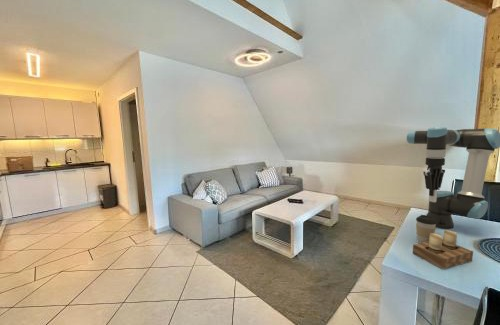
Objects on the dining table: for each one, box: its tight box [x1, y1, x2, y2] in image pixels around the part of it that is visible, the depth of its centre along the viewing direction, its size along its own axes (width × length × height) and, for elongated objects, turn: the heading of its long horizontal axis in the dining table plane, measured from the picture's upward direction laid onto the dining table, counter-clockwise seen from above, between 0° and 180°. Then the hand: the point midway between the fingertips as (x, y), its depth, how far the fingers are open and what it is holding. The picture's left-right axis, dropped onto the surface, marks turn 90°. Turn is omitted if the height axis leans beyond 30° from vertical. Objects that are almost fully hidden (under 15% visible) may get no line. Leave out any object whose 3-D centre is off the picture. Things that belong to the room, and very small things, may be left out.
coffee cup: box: [415, 214, 437, 243], centre depth 122 cm, size 9×9×15 cm
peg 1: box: [429, 232, 444, 254], centre depth 105 cm, size 5×5×12 cm
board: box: [412, 239, 474, 270], centre depth 107 cm, size 20×14×5 cm
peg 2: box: [443, 229, 458, 250], centre depth 108 cm, size 5×5×12 cm
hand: (432, 201), depth 113 cm, fingers closed
